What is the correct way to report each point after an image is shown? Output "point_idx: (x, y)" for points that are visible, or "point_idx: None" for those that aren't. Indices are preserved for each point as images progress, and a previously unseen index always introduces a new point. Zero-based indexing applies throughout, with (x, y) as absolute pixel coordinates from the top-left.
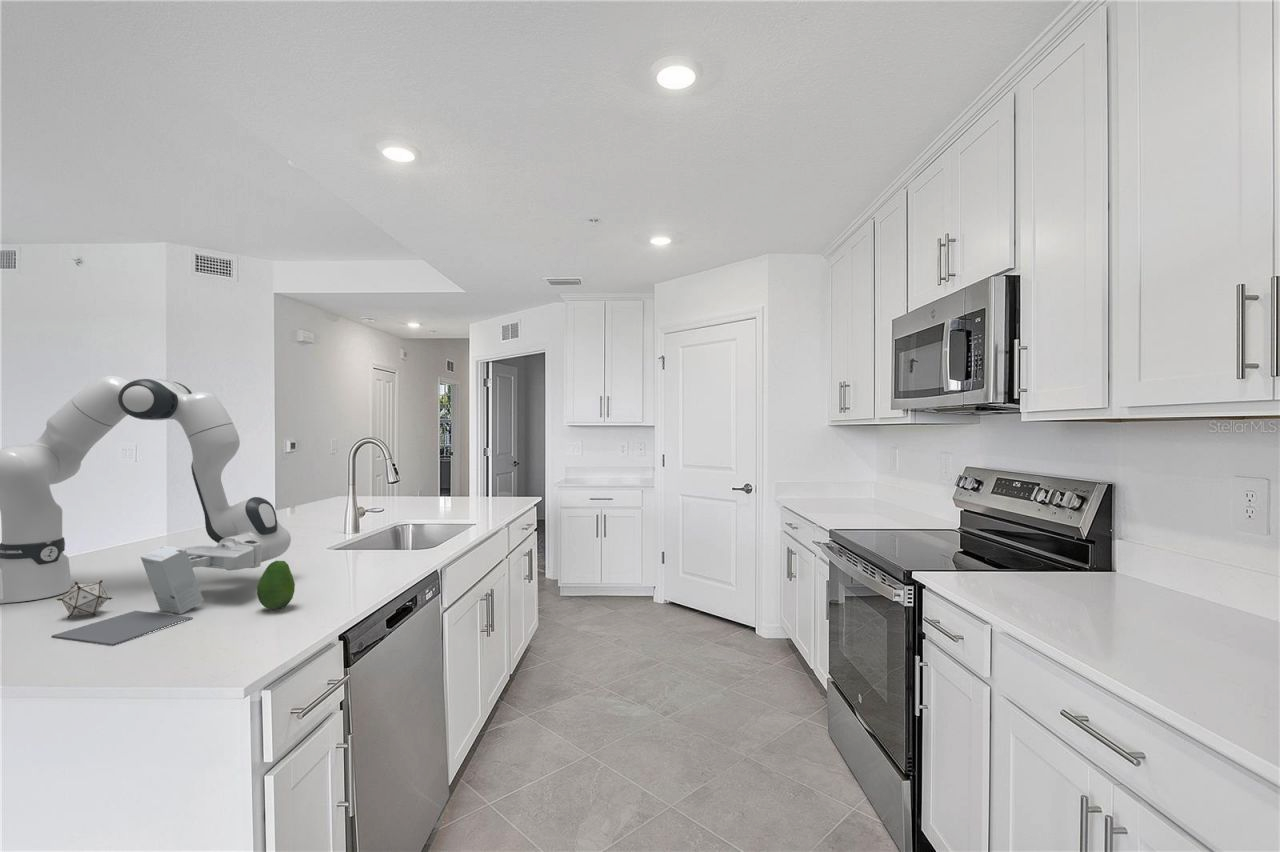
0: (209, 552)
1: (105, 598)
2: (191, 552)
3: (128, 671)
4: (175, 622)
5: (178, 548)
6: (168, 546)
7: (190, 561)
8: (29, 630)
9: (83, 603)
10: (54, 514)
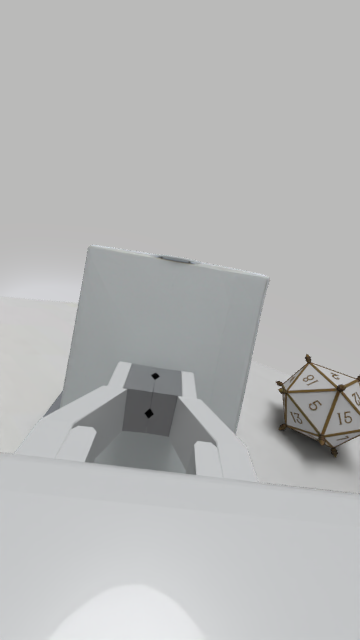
0: (57, 536)
1: (309, 422)
2: (335, 496)
3: (27, 307)
4: (56, 403)
5: (140, 252)
6: (222, 266)
7: (117, 364)
8: (272, 377)
9: (283, 386)
10: None
